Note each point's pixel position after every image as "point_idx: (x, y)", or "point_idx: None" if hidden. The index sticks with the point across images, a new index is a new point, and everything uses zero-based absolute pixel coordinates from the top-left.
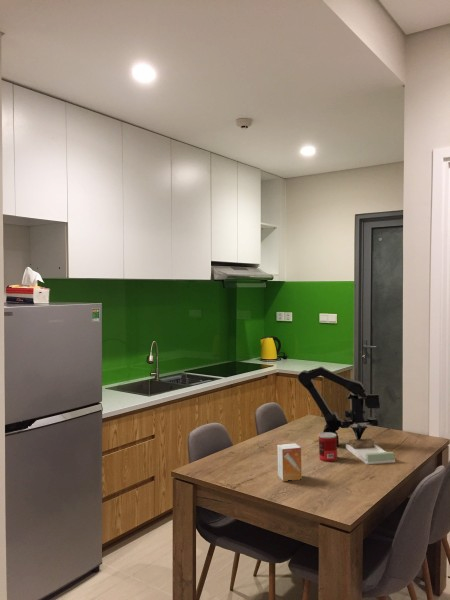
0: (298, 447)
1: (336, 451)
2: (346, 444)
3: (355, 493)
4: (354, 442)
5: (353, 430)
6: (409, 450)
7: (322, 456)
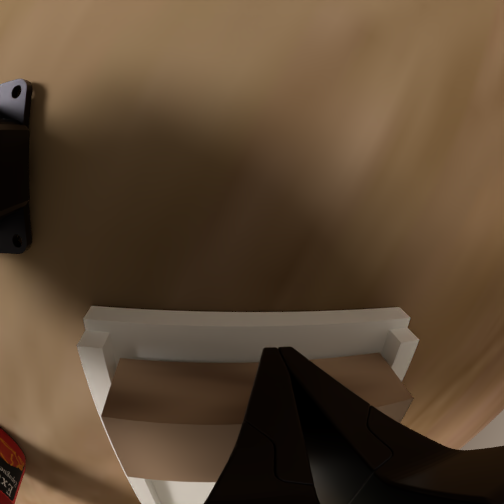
0: None
1: (15, 498)
2: (81, 358)
3: None
4: (151, 476)
5: (218, 486)
6: (481, 399)
7: None
